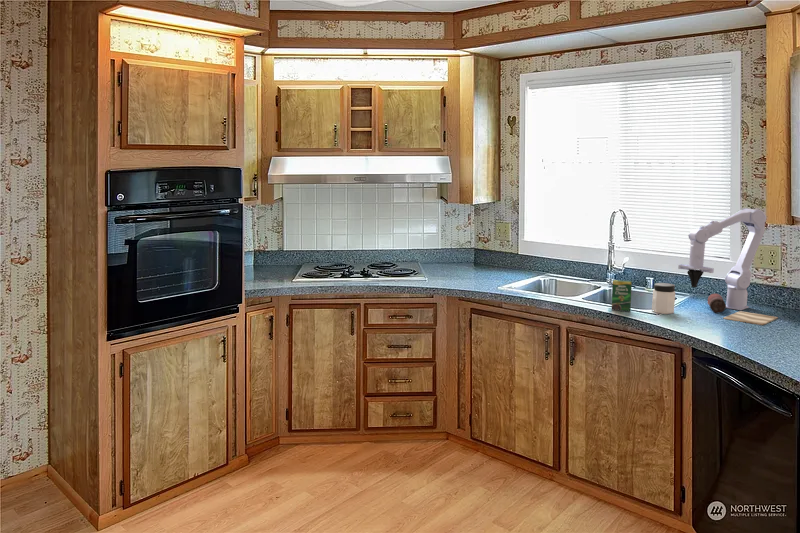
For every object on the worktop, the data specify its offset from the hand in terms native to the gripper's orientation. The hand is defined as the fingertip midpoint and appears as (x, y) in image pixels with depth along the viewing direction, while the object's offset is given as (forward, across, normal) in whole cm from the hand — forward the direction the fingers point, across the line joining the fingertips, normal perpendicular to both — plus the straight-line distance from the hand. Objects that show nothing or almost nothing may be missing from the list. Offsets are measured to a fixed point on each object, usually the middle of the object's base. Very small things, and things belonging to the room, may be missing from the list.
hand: (694, 287), depth 292 cm
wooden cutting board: (+10, +24, 0) cm, 26 cm away
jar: (+10, -6, -16) cm, 20 cm away
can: (+7, +11, 0) cm, 13 cm away
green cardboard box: (+10, -19, -27) cm, 35 cm away
